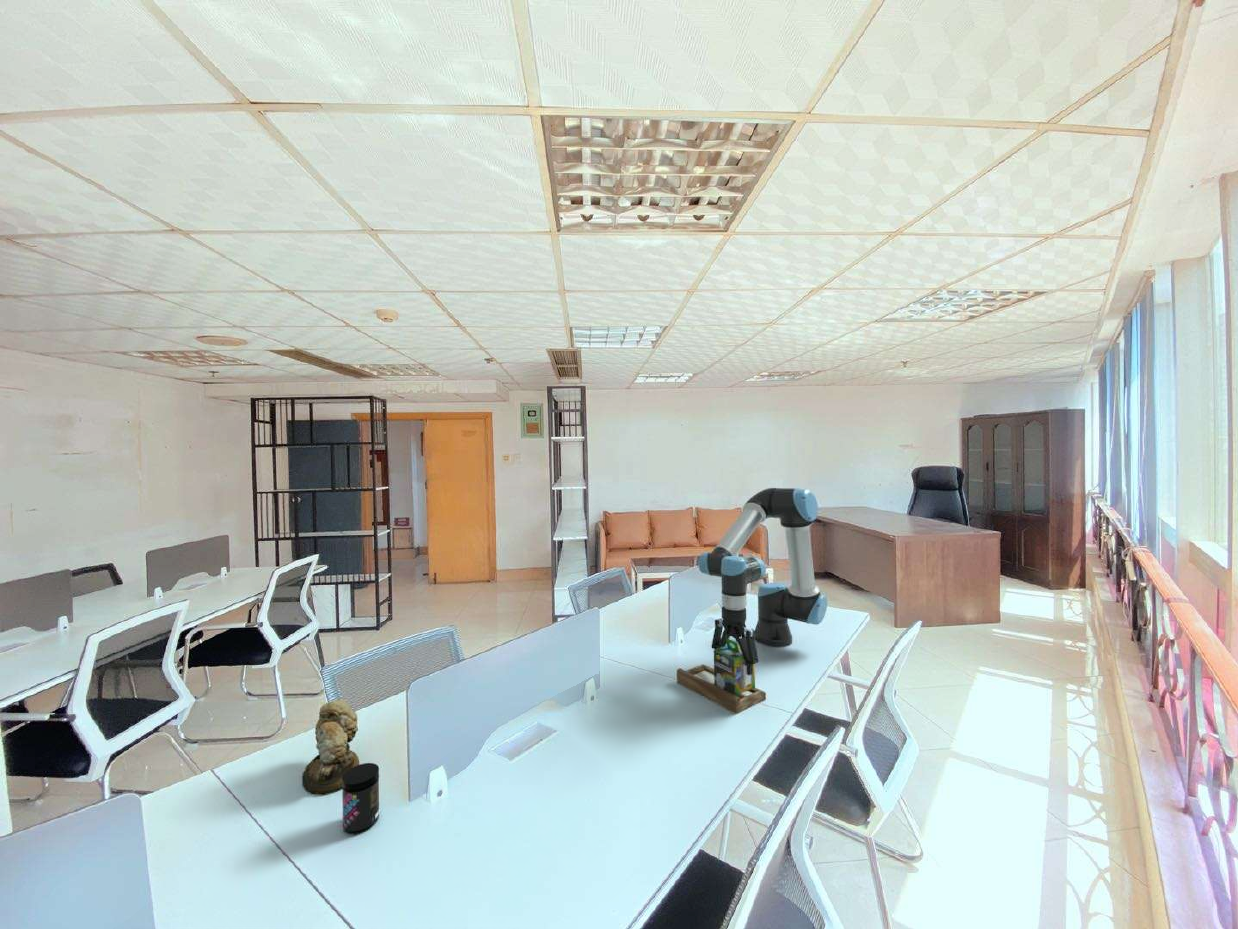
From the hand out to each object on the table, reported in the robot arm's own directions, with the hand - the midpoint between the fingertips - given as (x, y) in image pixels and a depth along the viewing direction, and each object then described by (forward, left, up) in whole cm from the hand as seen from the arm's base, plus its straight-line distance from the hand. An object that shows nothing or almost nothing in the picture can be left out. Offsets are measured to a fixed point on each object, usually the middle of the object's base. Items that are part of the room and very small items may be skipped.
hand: (734, 678), depth 150 cm
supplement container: (+102, -13, -6) cm, 103 cm away
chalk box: (0, 0, -3) cm, 3 cm away
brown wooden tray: (0, -6, -6) cm, 9 cm away
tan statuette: (+105, -36, -6) cm, 111 cm away
